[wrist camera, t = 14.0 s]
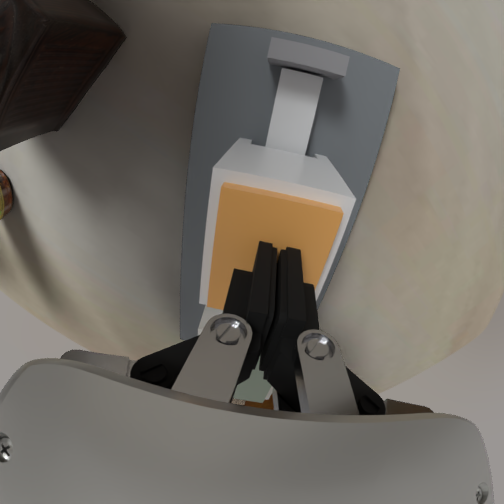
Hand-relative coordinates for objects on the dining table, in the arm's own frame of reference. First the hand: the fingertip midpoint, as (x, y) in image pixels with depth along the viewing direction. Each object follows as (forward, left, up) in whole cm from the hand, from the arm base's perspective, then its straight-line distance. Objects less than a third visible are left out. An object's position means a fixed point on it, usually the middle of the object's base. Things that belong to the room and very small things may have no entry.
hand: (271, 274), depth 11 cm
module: (0, 0, -8) cm, 8 cm away
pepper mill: (-8, -18, -10) cm, 22 cm away
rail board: (+3, 0, -10) cm, 10 cm away
